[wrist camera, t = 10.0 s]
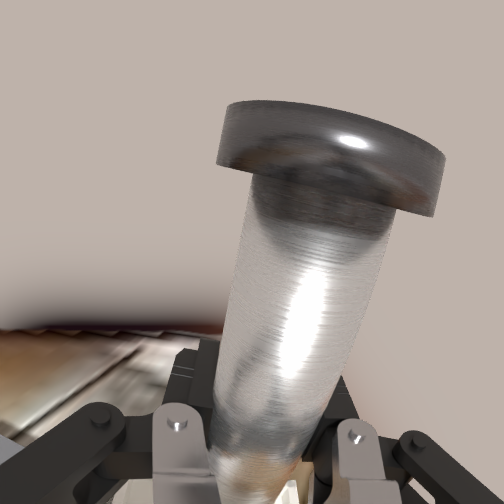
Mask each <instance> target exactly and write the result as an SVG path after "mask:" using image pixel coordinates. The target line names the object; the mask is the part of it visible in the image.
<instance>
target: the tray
mask: <svg viewBox="0 0 504 504" xmlns="http://www.w3.org/2000/svg"><path fill="white" fill-rule="evenodd" d="M112 504H154V503H153V479H129V480H128V481H127V482H126V483H125V484H124V485H123V486H122V487H121V488H120V489H119V490H118V491H117V492H116V493H115V494H114V498H113V501H112ZM274 504H299V499H298V493H297V486H296V480H288V481H287V483H286V485H285V486H284V488H283V490H282V491H281V493H280V495H279V496H278V498H277V500H276V501H275V503H274Z"/></svg>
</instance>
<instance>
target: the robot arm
mask: <svg viewBox="0 0 504 504" xmlns="http://www.w3.org/2000/svg"><path fill="white" fill-rule="evenodd" d="M219 346H220V341H218V340H212V339H206V338H200V343H199V348H198V351H197V350H192V349H186V348H184V349H183V350H182V351H181V352H179V353H178V354H177V355H176V358H175V361H174V364H173V368H172V371H171V375H170V378H169V381H168V385H167V388H166V392H165V395H164V399H163V402H162V405H161V406H160V407H158V408H157V409H156V410H155V412H153V413H151V414H149V415H145V416H124V415H123V414H122V412H121V411H120V410H119V409H118V408H117V407H115V406H113V405H111V404H108V403H104V402H94V403H89V404H87V405H85V406H83V407H82V408H80V409H79V410H78V411H76V412H75V413H73V414H72V415H71V416H69V417H68V418H66V419H65V420H64V421H62V422H61V423H59V424H58V425H57V426H55V427H54V428H52V429H51V430H50V431H48V432H47V433H45V434H44V435H42V436H41V437H40V438H38V439H37V440H35V441H34V442H32V443H31V444H30V445H28V446H27V447H25V448H24V449H22V450H21V451H19V452H18V453H17V454H15V455H14V456H12V457H11V458H9V459H8V460H6V461H5V462H3V463H2V464H0V504H105V503H106V502H107V501H108V500H109V499H110V498H111V497H112V496H113V495H114V494H115V493H116V492H117V491H118V490H119V489H120V488H121V487H122V486H123V485H124V484H125V483H126V482H127V481H128V480H129V479H153V503H154V504H221V500H220V495H219V490H218V485H217V481H216V478H215V476H214V475H212V474H211V472H210V468H209V462H208V456H207V450H206V446H207V440H208V435H209V429H210V424H211V418H212V413H213V406H214V399H213V386H214V380H215V374H216V369H217V363H218V356H219ZM301 457H302V462H313V464H314V468H313V470H312V471H311V473H310V480H309V498H308V504H429V503H427V502H426V501H425V500H424V499H423V498H422V497H421V496H420V495H419V494H418V493H417V492H416V491H415V490H414V489H413V488H412V487H411V486H410V485H409V484H408V483H409V482H410V481H411V480H412V479H413V478H414V479H416V481H417V482H419V483H420V484H421V485H422V486H423V487H424V488H425V489H426V490H427V491H428V492H429V493H430V494H431V495H432V496H433V497H434V499H435V504H504V502H503V501H502V500H501V499H499V498H498V497H497V496H496V495H495V494H494V493H492V492H491V491H490V490H489V489H488V488H487V487H486V486H484V485H483V484H482V483H481V482H480V481H479V480H477V479H476V478H475V477H474V476H473V475H472V474H471V473H469V472H468V471H467V470H466V469H465V468H464V467H463V466H461V465H460V464H459V463H458V462H457V461H456V460H455V459H454V458H452V457H451V456H450V455H449V454H448V453H447V452H445V451H444V450H443V449H442V448H441V447H440V446H439V445H438V444H437V443H435V442H434V441H433V440H432V439H431V438H430V437H429V436H427V435H426V434H424V433H422V432H420V431H414V430H413V431H407V432H405V433H403V435H402V436H401V437H400V438H399V440H396V439H391V438H386V437H381V436H378V435H377V432H376V430H375V429H374V427H372V425H370V424H369V423H367V422H365V421H363V420H360V419H359V416H358V414H357V411H356V409H355V406H354V404H353V401H352V399H351V397H350V395H349V392H348V390H347V387H346V385H345V382H344V380H343V377H342V376H341V375H340V378H339V380H338V382H337V385H336V387H335V389H334V391H333V394H332V396H331V398H330V400H329V402H328V405H327V407H326V409H325V411H324V413H323V415H322V417H321V419H320V421H319V423H318V425H317V427H316V429H315V431H314V433H313V435H312V437H311V439H310V441H309V443H308V445H307V447H306V449H305V451H304V453H303V454H302V456H301Z"/></svg>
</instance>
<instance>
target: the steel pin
mask: <svg viewBox="0 0 504 504" xmlns="http://www.w3.org/2000/svg"><path fill="white" fill-rule="evenodd" d="M445 160H446V158H445V156H444V155H443V153H442V152H441V151H439V150H438V149H437V148H436V147H434V146H432V145H431V144H429V143H428V142H426V141H424V140H422V139H421V138H419V137H417V136H415V135H413V134H410V133H408V132H406V131H404V130H401V129H399V128H396V127H394V126H391V125H389V124H386V123H383V122H380V121H377V120H374V119H371V118H368V117H364V116H361V115H357V114H353V113H350V112H346V111H341V110H337V109H332V108H327V107H322V106H317V105H310V104H304V103H295V102H286V101H267V100H253V101H242V102H236V103H233V104H230V105H229V106H227V110H226V115H225V120H224V125H223V130H222V135H221V140H220V145H219V150H218V155H217V161H216V164H217V165H220V166H224V167H228V168H232V169H236V170H240V171H245V172H249V173H253V177H252V182H251V187H250V192H249V197H248V202H247V207H246V212H245V218H244V223H243V228H242V233H241V238H240V243H239V249H238V254H237V259H236V265H235V270H234V276H233V281H232V286H231V292H230V297H229V302H228V308H227V313H226V318H225V324H224V329H223V335H222V341H221V346H220V352H219V357H218V363H217V369H216V374H215V380H214V386H213V399H214V406H213V413H212V418H211V424H210V429H209V435H208V440H207V446H206V450H207V456H208V462H209V468H210V472H211V474H212V475H214V476H215V478H216V481H217V485H218V490H219V495H220V500H221V504H274V503H275V501H276V500H277V498H278V496H279V495H280V493H281V491H282V490H283V488H284V486H285V485H286V483H287V481H288V480H289V478H290V476H291V474H292V473H293V471H294V469H295V467H296V465H297V464H298V462H299V460H300V458H301V456H302V454H303V453H304V451H305V449H306V447H307V445H308V443H309V441H310V439H311V437H312V435H313V433H314V431H315V429H316V427H317V425H318V423H319V421H320V419H321V417H322V415H323V413H324V411H325V409H326V407H327V405H328V402H329V400H330V398H331V396H332V394H333V391H334V389H335V387H336V385H337V382H338V380H339V378H340V375H341V373H342V371H343V368H344V366H345V364H346V361H347V359H348V356H349V354H350V351H351V349H352V346H353V343H354V341H355V339H356V336H357V333H358V331H359V328H360V325H361V323H362V320H363V317H364V314H365V312H366V309H367V306H368V303H369V300H370V297H371V294H372V291H373V288H374V285H375V282H376V279H377V276H378V273H379V270H380V266H381V263H382V260H383V256H384V253H385V250H386V246H387V243H388V239H389V235H390V232H391V228H392V224H393V220H394V217H395V213H396V209H400V210H403V211H407V212H411V213H415V214H419V215H423V216H427V217H433V215H434V211H435V207H436V203H437V199H438V194H439V190H440V185H441V180H442V176H443V171H444V165H445Z"/></svg>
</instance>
